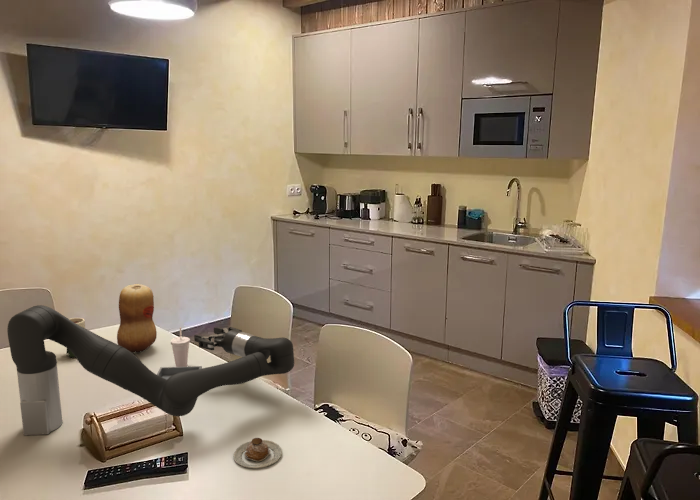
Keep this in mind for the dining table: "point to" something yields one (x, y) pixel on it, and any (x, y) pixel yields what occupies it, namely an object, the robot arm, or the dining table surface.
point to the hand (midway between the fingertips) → (205, 333)
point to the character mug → (81, 323)
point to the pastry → (257, 452)
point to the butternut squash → (136, 318)
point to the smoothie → (180, 350)
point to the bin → (175, 370)
